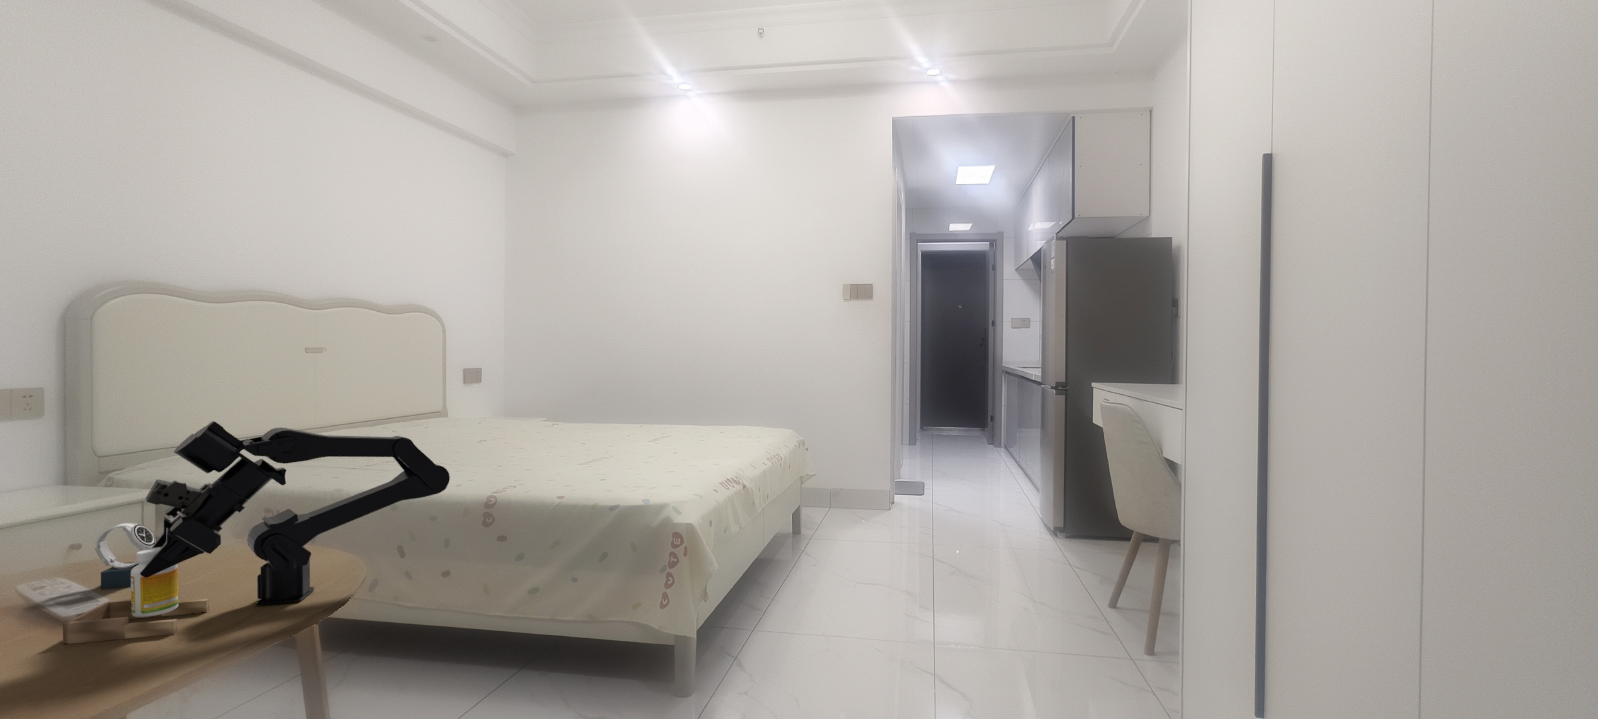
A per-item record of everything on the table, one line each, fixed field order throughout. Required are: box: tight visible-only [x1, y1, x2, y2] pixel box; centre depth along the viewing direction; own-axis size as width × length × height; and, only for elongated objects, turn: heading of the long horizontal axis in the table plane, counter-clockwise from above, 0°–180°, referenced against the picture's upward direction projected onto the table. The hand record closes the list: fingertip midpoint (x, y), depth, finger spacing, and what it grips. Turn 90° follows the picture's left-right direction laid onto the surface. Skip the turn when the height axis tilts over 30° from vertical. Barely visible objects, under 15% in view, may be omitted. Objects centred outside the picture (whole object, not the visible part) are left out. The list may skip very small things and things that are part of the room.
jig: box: [62, 598, 210, 645], centre depth 107 cm, size 14×10×3 cm
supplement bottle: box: [130, 547, 180, 618], centre depth 107 cm, size 5×5×10 cm
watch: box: [94, 522, 157, 590], centre depth 126 cm, size 6×8×11 cm
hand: (142, 571), depth 106 cm, fingers closed on supplement bottle, 5 cm apart
